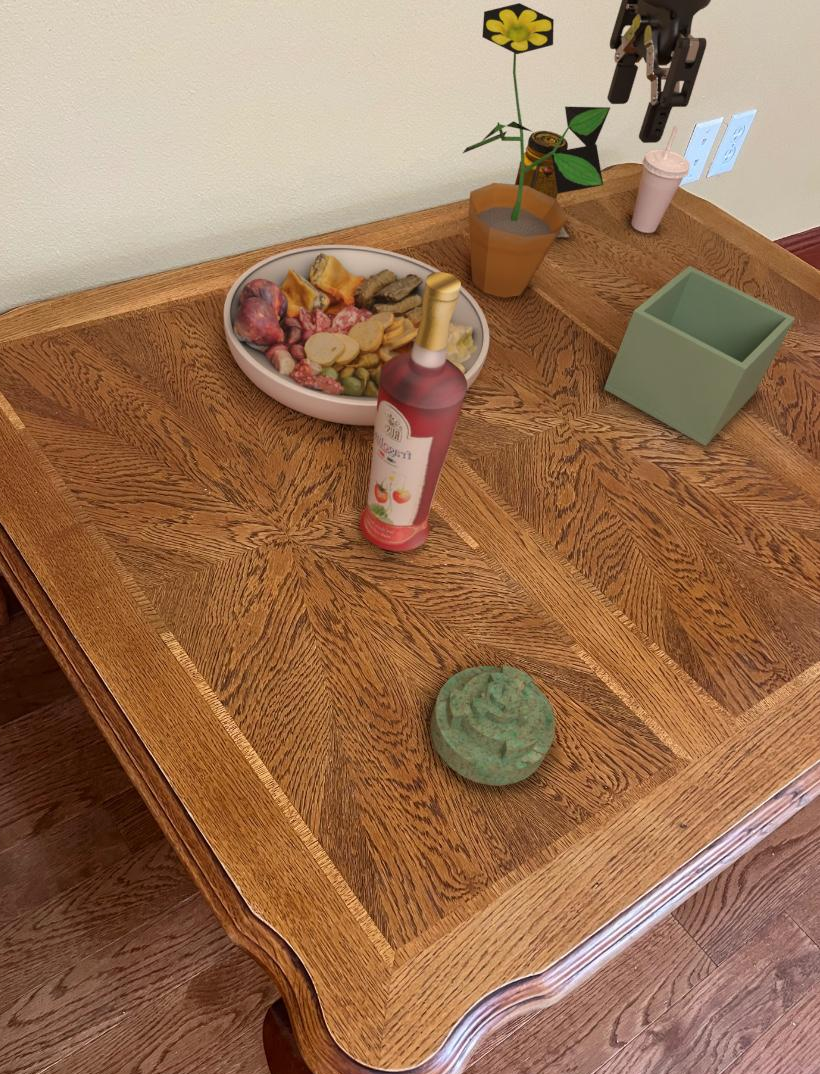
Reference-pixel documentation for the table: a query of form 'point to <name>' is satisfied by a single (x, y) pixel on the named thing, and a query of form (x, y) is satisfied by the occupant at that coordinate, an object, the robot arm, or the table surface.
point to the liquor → (414, 425)
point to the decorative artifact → (492, 725)
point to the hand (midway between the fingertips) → (632, 121)
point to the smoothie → (658, 186)
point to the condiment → (542, 165)
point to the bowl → (338, 327)
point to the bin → (696, 353)
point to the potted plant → (516, 210)
